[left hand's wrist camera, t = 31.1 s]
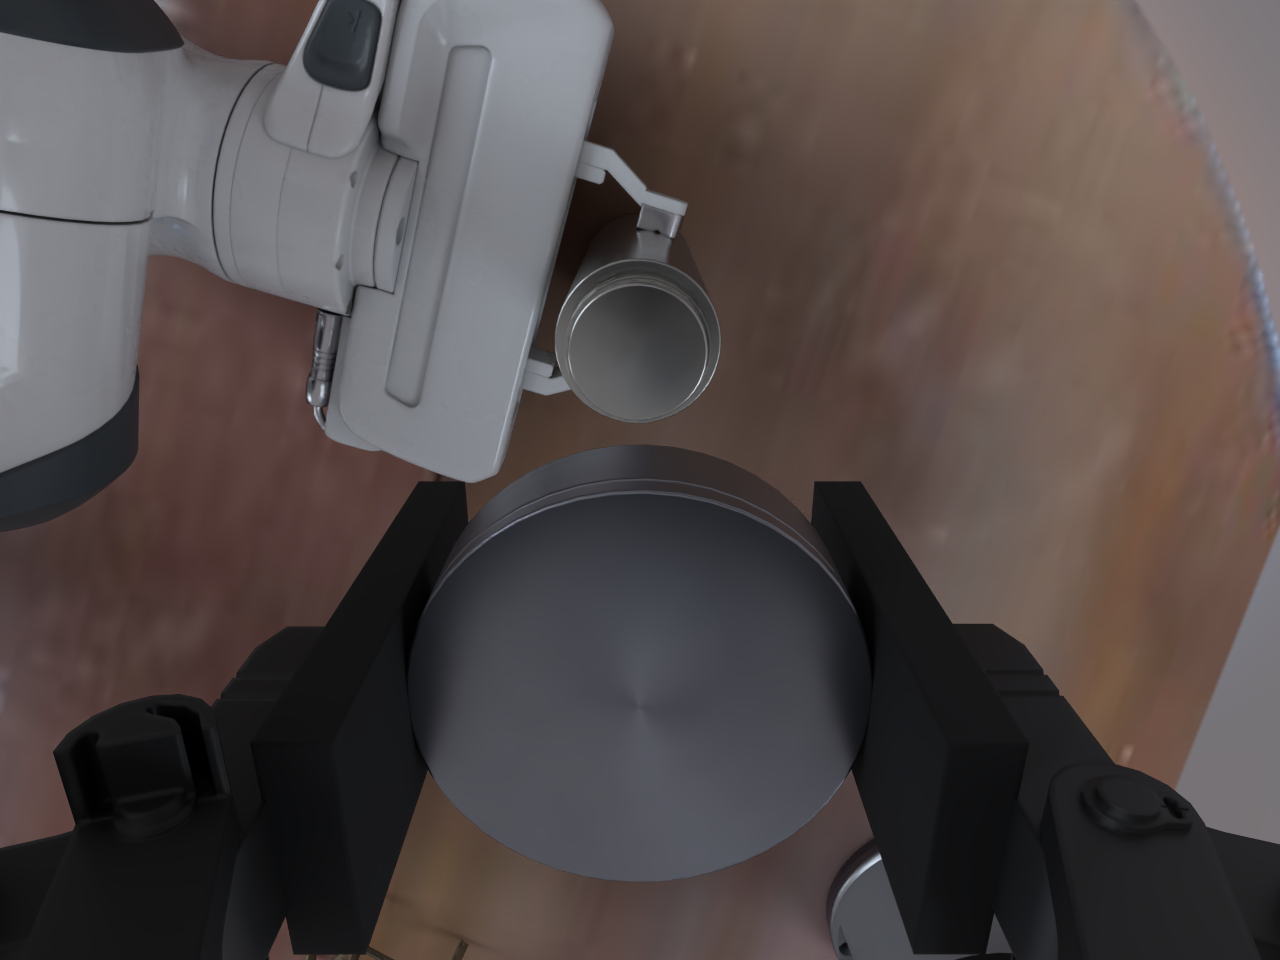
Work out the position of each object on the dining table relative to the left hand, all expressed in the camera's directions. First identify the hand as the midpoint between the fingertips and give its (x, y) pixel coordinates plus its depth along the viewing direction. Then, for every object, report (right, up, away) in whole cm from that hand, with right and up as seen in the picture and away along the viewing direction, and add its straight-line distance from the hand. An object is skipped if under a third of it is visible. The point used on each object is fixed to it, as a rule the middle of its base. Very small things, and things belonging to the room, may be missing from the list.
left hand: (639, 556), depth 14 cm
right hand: (+1, +9, +22) cm, 24 cm away
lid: (0, -1, -3) cm, 4 cm away
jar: (0, +12, +28) cm, 30 cm away
